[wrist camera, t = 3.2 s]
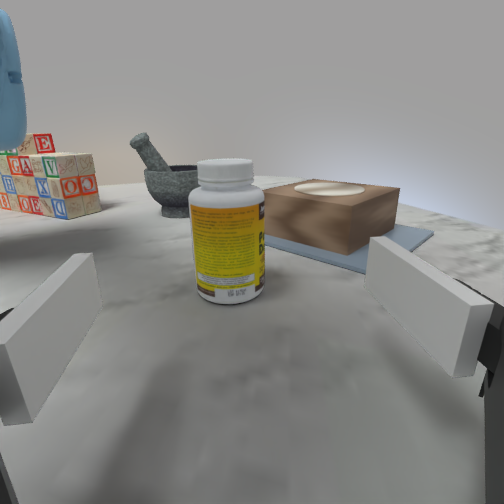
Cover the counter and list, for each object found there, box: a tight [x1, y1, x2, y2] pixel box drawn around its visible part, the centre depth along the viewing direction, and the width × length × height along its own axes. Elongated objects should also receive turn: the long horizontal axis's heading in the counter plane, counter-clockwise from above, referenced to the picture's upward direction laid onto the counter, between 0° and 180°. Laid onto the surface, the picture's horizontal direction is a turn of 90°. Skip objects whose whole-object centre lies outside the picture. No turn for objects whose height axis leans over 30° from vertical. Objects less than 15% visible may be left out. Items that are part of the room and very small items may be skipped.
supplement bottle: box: [188, 158, 265, 304], centre depth 24 cm, size 6×6×10 cm
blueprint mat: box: [265, 224, 434, 274], centre depth 40 cm, size 20×16×1 cm
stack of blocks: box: [0, 133, 101, 219], centre depth 53 cm, size 21×6×12 cm, turn 62°
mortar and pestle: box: [130, 133, 201, 218], centre depth 48 cm, size 11×9×12 cm
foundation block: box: [262, 179, 400, 256], centre depth 39 cm, size 12×12×5 cm
